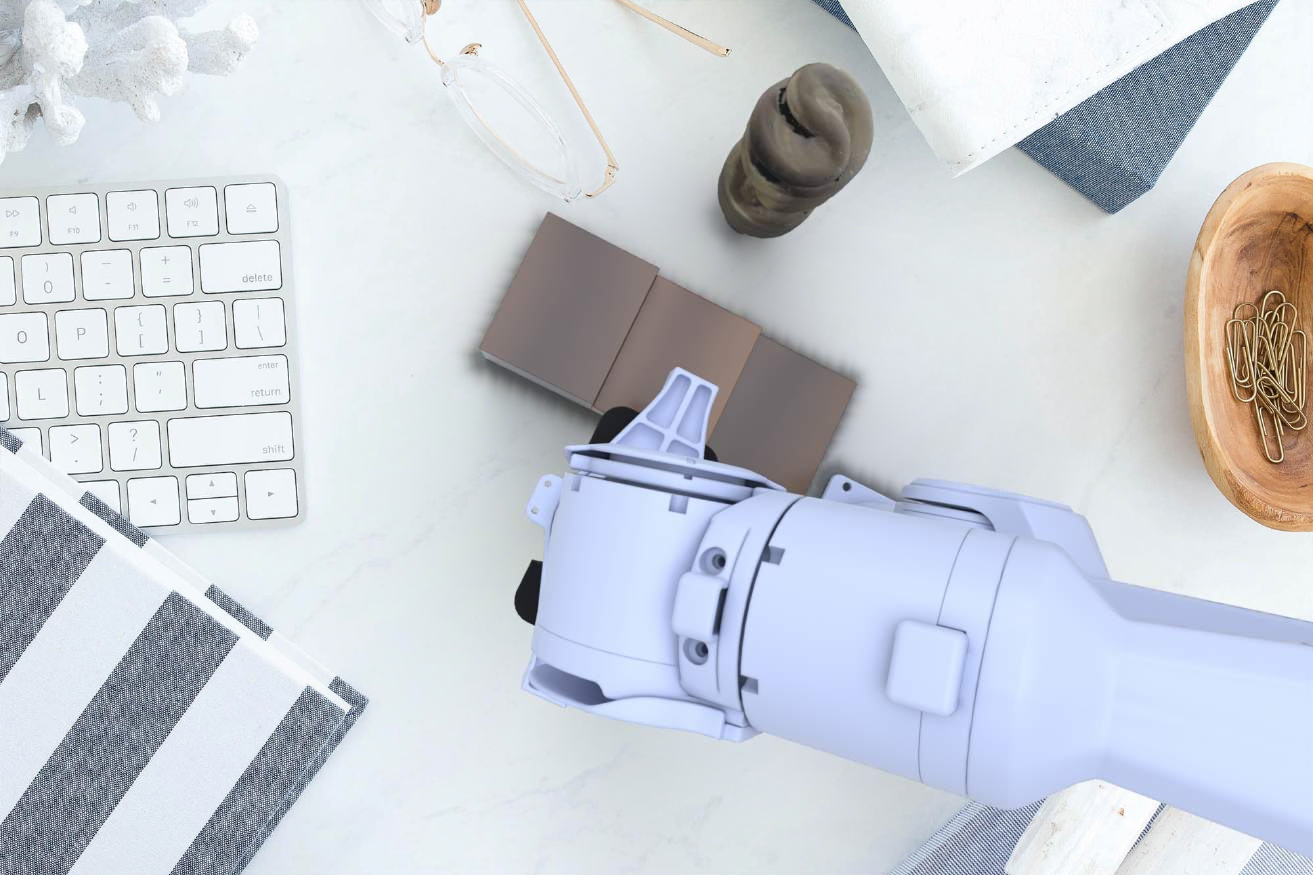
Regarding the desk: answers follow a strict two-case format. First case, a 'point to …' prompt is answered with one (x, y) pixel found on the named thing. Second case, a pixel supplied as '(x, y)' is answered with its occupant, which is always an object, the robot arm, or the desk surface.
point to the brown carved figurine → (796, 151)
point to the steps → (662, 352)
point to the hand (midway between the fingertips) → (609, 520)
